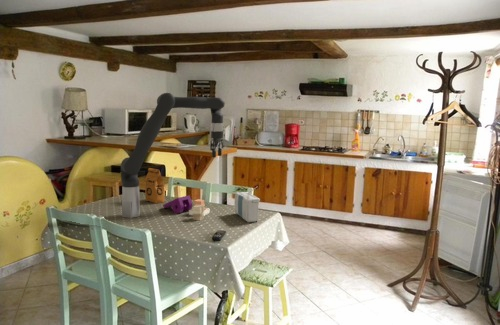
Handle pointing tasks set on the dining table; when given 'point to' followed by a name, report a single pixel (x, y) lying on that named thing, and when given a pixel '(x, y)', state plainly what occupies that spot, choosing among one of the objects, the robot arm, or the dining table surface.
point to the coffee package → (154, 186)
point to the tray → (206, 211)
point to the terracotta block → (198, 202)
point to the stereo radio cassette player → (247, 206)
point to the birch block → (198, 212)
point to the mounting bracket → (180, 204)
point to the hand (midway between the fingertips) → (216, 156)
